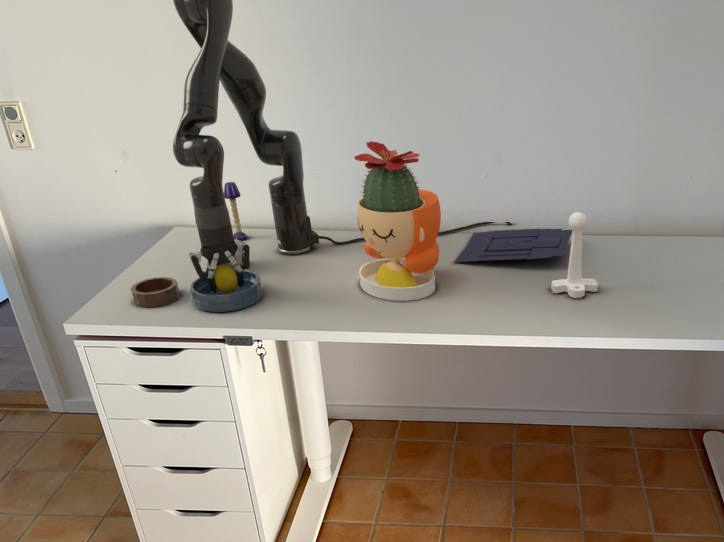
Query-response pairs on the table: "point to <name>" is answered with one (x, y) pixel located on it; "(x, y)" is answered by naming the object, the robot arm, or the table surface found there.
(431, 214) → the potted cactus
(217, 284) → the lemon
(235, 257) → the ceramic mug
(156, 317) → the table surface
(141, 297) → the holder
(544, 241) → the dark blue flat board
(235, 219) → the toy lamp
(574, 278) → the joystick
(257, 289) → the bowl
